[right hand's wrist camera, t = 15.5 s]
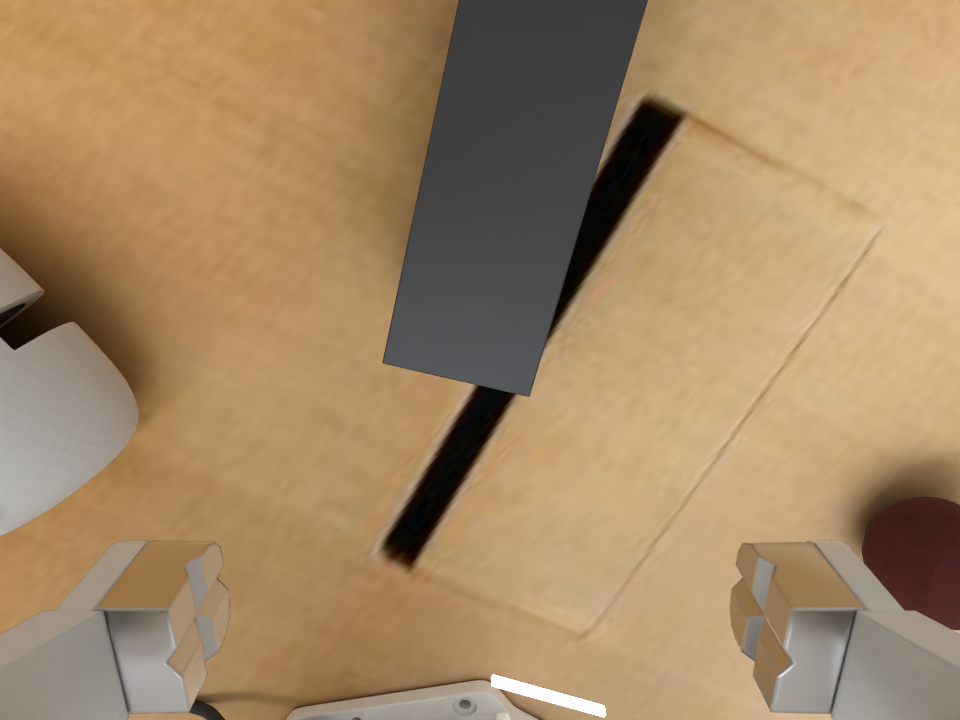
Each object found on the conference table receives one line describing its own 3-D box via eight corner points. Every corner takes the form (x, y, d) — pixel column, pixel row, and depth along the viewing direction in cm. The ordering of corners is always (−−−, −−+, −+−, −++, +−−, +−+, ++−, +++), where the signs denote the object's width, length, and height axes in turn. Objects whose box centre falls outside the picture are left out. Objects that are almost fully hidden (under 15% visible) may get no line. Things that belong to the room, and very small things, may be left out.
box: (516, 325, 39) (529, 397, 29) (407, 299, 38) (382, 363, 28) (653, -164, 30) (735, -292, 21) (516, -206, 30) (534, -358, 20)
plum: (970, 475, 42) (1062, 544, 35) (943, 577, 44) (1023, 659, 38) (851, 477, 42) (921, 546, 35) (832, 580, 45) (893, 661, 38)
